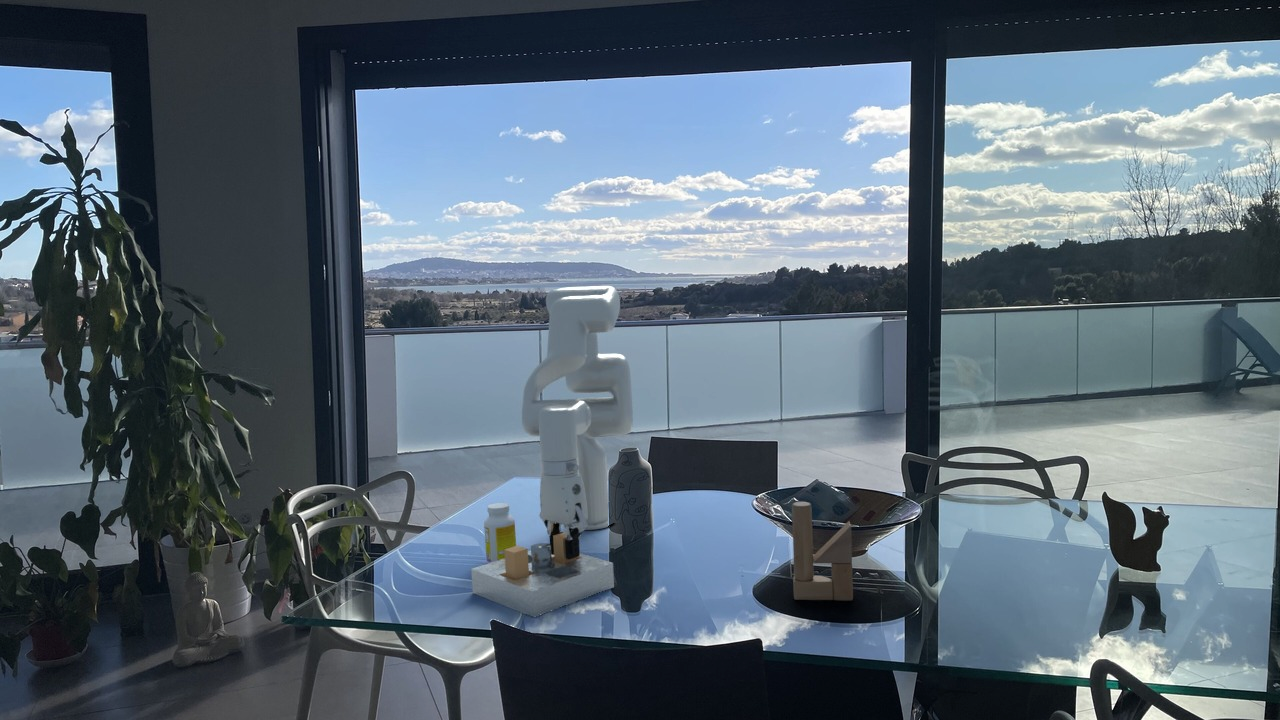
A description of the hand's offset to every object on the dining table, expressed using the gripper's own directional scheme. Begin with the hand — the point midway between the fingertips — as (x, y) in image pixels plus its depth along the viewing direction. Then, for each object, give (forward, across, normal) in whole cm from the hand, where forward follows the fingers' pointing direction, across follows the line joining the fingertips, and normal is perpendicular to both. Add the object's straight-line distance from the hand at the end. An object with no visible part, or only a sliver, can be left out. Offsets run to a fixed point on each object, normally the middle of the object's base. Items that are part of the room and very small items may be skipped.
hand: (565, 554), depth 182 cm
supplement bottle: (+6, +21, +1) cm, 22 cm away
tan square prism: (+6, 0, 0) cm, 6 cm away
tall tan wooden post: (+6, 0, +12) cm, 13 cm away
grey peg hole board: (+6, 0, +6) cm, 8 cm away
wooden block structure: (+6, -45, -25) cm, 52 cm away
